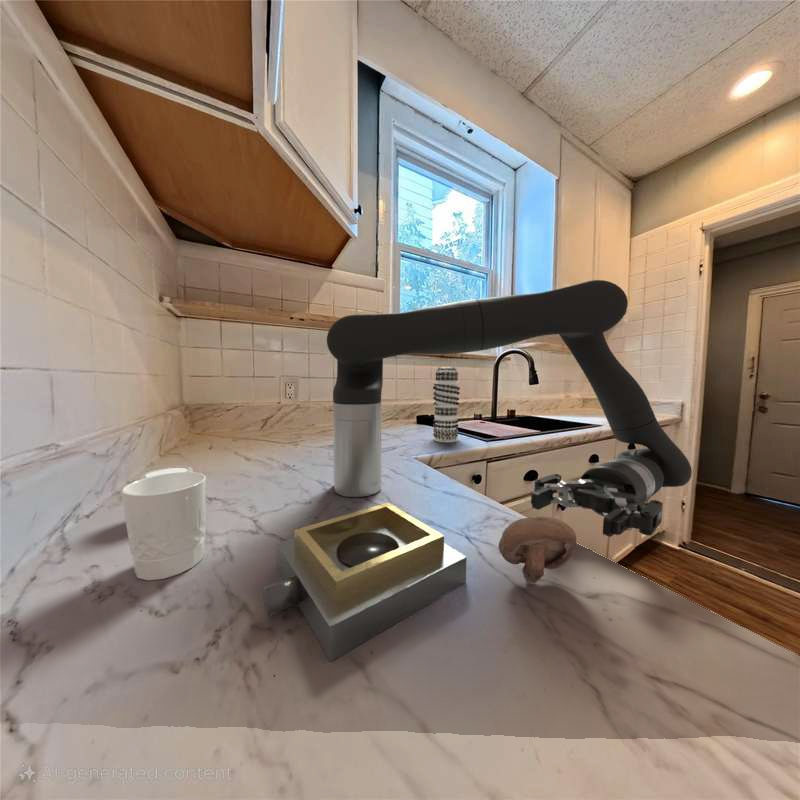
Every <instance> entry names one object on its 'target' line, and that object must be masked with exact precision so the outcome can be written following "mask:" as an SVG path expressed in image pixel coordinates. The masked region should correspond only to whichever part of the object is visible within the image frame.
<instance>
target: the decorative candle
mask: <svg viewBox="0 0 800 800" xmlns="http://www.w3.org/2000/svg"><path fill="white" fill-rule="evenodd" d="M458 375H459V371H458V370H457V368H456V367H455V366H440V367H438V368H437V369H436V371H435V380H434V383H433V386H432V389H433V390H434V392H433V393H432V394H433V397H432V400H434V402H433V406H434V419H433V422H434V423H433V424H432V425H433V427H434V428H433V429H432V430H433V431H432V432H433V433H432V436H433V438H432V439H433V441H436V442H437V443H438V442H439V443H455V442H458V441H459V440H458V439H459V435H458V433H459V430H458V427H459V424H458V423H459V419H458V407H459V405H460V403H459V402H458V401H459V400H460V398H459V395H460V394H461V393H460V391H459V390H461V388H460V386H459V376H458Z"/></svg>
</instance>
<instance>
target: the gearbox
mask: <svg viewBox="0 0 800 800" xmlns="http://www.w3.org/2000/svg"><path fill="white" fill-rule="evenodd" d="M275 544H276V545H275V546H276V569H277V570H278V572H279V574H280V575H281V577H282V580H280V581H277V582H274V583H272V584H269V585H267V586H264V587H263V588H262V601H263V602H262V603H263V607H264V610H265V614H266V616H267V617H269V616H272V615H275V614H276V613H280V612H281V611H283V610H287V609H288V608H290V607H292V606H295V605H298V607H299V609H300V611H301V612H302V614H303V616H304V618H305V619H306V621H307V624H308V625H309V626H310V628H311V631H312V632H313V634H314V636H315V638H316V639H317V641H318V643H319V644H320V646H321V648H322V649H323V652H324V653H325V655H326V657H327V659H328V661H329V662H330V663H331V662H333V661H335V660H336V659H338V658H340V657H341V656H343V655H345V654H347V653H349V652H350V651H352V650H353V649H355V648H357V647H358V646H360V645H362V644H364V643H365V642H368V641H369V640H371V639H372V638H375V637H376V636H377V635H379V634H381V633H382V632H383V631H386V630H388V629H390V628H391V627H392V626H394V625H396V624H397V623H400V622H401V621H403V620H405V619H406V618H408V617H410V616H411V615H413V614H415V613H417V612H418V611H420V610H421V609H423V608H425V607H428V606H429V605H431V603H434V602H436V601H438V600H439V599H440V598H442V597H444V596H446V595H447V594H449V593H451V592H453V591H454V590H456V589H457V588H459V587H461V586H462V585H465V584H466V583H467V561H468V560H467V558H468V557H467V556H466V555H465V554H463V553H461V552H460V551H458V550H456V549H455V548H453V547H452V546H450V545H449V544H447V543H446V542H445V535H443V534H442V533H440V532H439V531H438V530H435V529H433V528H432V527H430V526H428V525H427V524H425V523H424V522H423V521H420V520H419V519H416V518H415V517H413V516H411V515H410V514H408V513H406V512H405V511H403V510H402V509H400V508H398V507H396V506H395V505H393V504H392V503H390V502H384V503H382V504H378V505H375V506H372V507H368V508H365V509H361V510H358V511H354V512H351V513H346V514H345V515H341V516H338V515H330V517H328V518H327V519H326V520H325V521H324V520H323V521H321V522H318V523H314V524H310V525H307V526H303V527H300V528H297V529H294V536H293V537H292V538H289V539H286V540H282V541H280V542H276V543H275Z"/></svg>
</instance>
